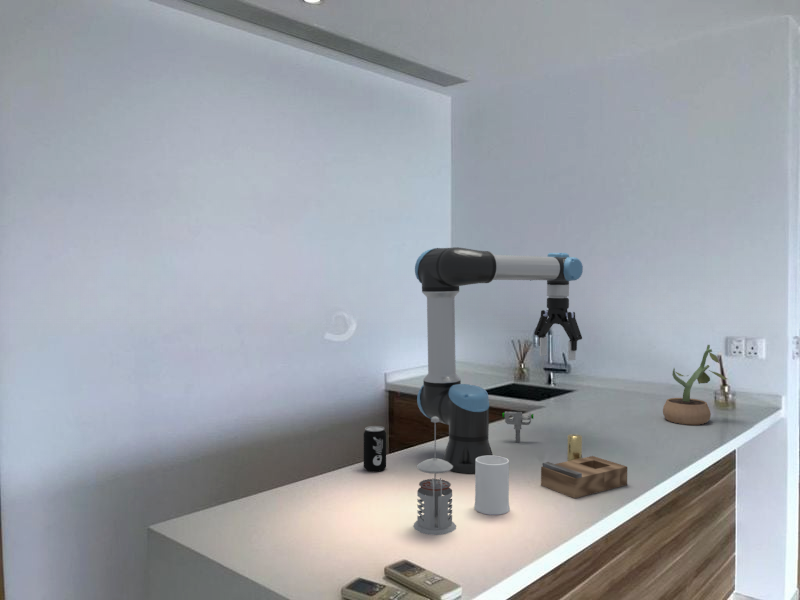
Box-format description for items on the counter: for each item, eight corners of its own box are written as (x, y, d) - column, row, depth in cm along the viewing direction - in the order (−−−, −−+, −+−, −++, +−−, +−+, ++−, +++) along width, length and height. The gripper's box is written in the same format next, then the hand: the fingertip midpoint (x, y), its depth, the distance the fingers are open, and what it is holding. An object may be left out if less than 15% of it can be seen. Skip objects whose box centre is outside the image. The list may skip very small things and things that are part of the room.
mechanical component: (533, 444, 218) (533, 414, 217) (502, 442, 220) (502, 413, 219) (533, 441, 221) (533, 412, 220) (502, 440, 223) (502, 411, 222)
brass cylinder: (574, 472, 187) (575, 438, 186) (564, 469, 190) (564, 435, 190) (584, 470, 189) (584, 436, 188) (574, 467, 192) (574, 433, 192)
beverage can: (366, 473, 186) (366, 431, 185) (361, 466, 192) (361, 426, 192) (388, 471, 188) (388, 430, 187) (383, 465, 194) (383, 425, 193)
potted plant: (659, 423, 248) (661, 345, 246) (665, 414, 263) (666, 340, 262) (726, 430, 237) (728, 348, 236) (727, 420, 253) (729, 343, 252)
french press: (453, 517, 152) (454, 411, 151) (460, 537, 141) (460, 423, 140) (411, 518, 152) (412, 411, 151) (414, 538, 140) (414, 423, 139)
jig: (574, 498, 165) (574, 475, 165) (541, 485, 176) (541, 463, 175) (627, 484, 176) (627, 462, 176) (592, 473, 186) (592, 452, 186)
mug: (492, 496, 167) (493, 450, 166) (522, 504, 161) (523, 456, 161) (467, 509, 158) (467, 460, 157) (497, 518, 152) (498, 467, 152)
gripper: (593, 298, 218) (592, 361, 219) (540, 295, 239) (539, 353, 240) (577, 298, 214) (576, 362, 215) (524, 296, 235) (524, 354, 236)
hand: (557, 358), depth 228 cm, fingers open, 13 cm apart
